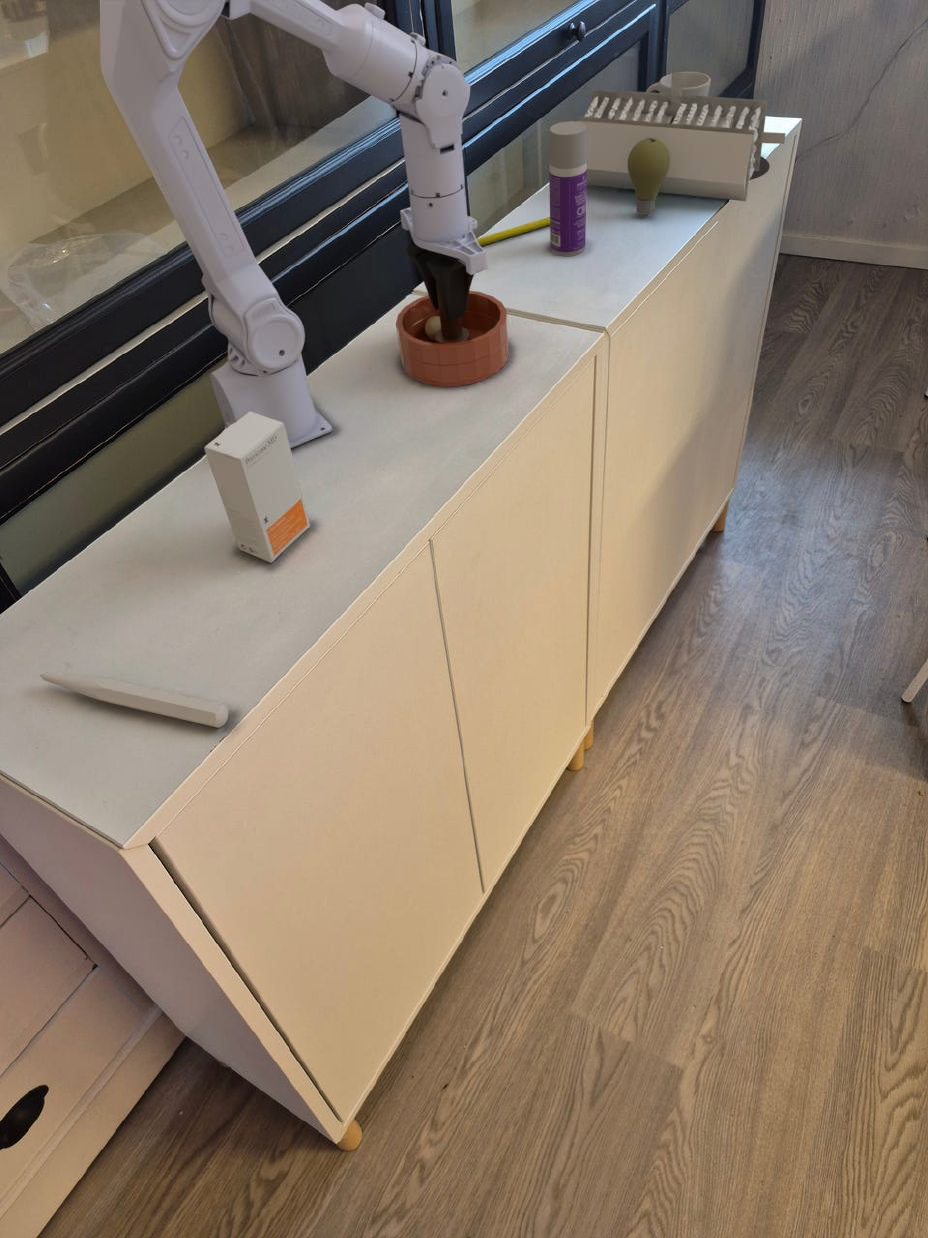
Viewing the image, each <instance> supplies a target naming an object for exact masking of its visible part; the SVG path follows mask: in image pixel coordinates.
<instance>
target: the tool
mask: <svg viewBox="0 0 928 1238" xmlns="http://www.w3.org/2000/svg"><path fill="white" fill-rule="evenodd" d="M39 677H41V679H42V680H43V681H45V682H48V683H51V684H54V685H56V686H59V687H62V688H65V689H67V690H69V691H73V692H76V693H78V694H80V695H84V696H87V697H89V698H92V699H95V700H97V701H98V700H99V701H102V702H106V703H110V704H113V705H118V706H121V707H127V708H130V709H136V710H139V711H144V712H148V713H153V714H156V715H160V716H165V717H169V718H174V719H177V720H182V721H188V722H191V723H195V724H199V725H204V726H207V727H212V728H217V729H220V728H222V727H223V726H224V725H225V724H226V723H227V721H228V718H229V709H228V707H227V705H224V704H222V703H219V702H214V701H210V700H205V699H200V698H196V697H191V696H187V695H183V694H178V693H174V692H169V691H166V690H160V689H156V688H153V687H147V686H143V685H140V684H139V685H138V684H133V683H129V682H125V681H120V680H116V679H111V678H107V677H96V676H87V675H78V674H77V675H76V674H67V673H57V672H48V671H47V672H46V671H45V672H43V673H41V674H39Z"/></svg>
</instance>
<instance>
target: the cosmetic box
mask: <svg viewBox="0 0 928 1238" xmlns="http://www.w3.org/2000/svg"><path fill="white" fill-rule="evenodd" d="M203 449H204V452H205V455H206V459H207V461H208V464H209V467H210V469H211V470H210V471H211V472H212V476H213V479H214V481H215V484H216V487H217V490H218V493H219V496H220V498H221V501H222V505H223V507H224V510H225V513H226V516H227V518H228V522H229V524H230V525H229V526H230V527H231V530H232V534H233V535H234V536H233V537H234V539H235V542H236V545H237V548H238V549H239V550H240V551H241V552H243V553H246V554H249V555H251V556H253V557H256V558H258V559H261V560H263V561H264V562H268V563H271V564H272V563H273V562H274V561H275V560H276V559H277V558H278V557H279V556H280V555H281V554H282V553H283V552H285V551H286V549H288V548H289V546H291V545H292V544H293V543H294V542H295V541H296V540H297V539H298V538H299V537H300V536H302V535H303V534H304V533H305V532H306V531H307V530H308V529H309V528H310V527H311V523H310V520H309V515H308V512H307V511H308V510H307V507H306V504H305V500H304V496H303V491H302V487H301V485H300V481H299V477H298V473H297V468H296V465H295V462H294V458H293V454H292V450H291V449H292V448H290V445H289V442H288V438H287V434H286V430H285V426H284V423H283V422H279V421H277V420H274V419H270V418H267V417H265V416H262V415H259V414H256V413H253V412H248V413H247V414H246V415H244V416H243V417H242V418H241V419H239V420H238V421H237V422H235V423H233V424H231V425H230V426H229V427H228V428H226V429H225V428H224V430H222V432H221V433H220V434H219V435H217V436H216V437H215V438H214V439H212V440H211V441H210V442H208V444H206V445H205V446H204V447H203Z"/></svg>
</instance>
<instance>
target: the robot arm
mask: <svg viewBox="0 0 928 1238" xmlns="http://www.w3.org/2000/svg"><path fill="white" fill-rule="evenodd" d="M248 14H251V15H254V16H255V17H257V18H258V19H260V20H263V21H265V22H267V23H269V24H271V25H273V26H275V27H277V28H279V29H282V30H283V31H285V32H287V33H288V34H290V35H293V36H294V37H297V38H299V39H300V40H302V41H305V42H307V43H308V44H310V45H312V46H314V47H316V48H318V49H320V50H321V52H322V55H323V58H324V61H325V64H326V66H327V68H328V71H329V72H330V74H331V75H333V76H334V77H336V78H338V79H340V80H341V81H344V82H346V83H348V84H349V85H351V86H353V87H355V88H358V89H359V90H360V91H363V92H364V93H367V94H368V95H370V96H371V97H374V98H376V99H377V100H380V101H382V102H383V103H385V104H387V105H389V107H390V108H391V109H392V110H393V111H399V112H400V113H399V115H398V116H399V121H400V122H399V123H400V131H401V138H402V148H403V155H404V156H403V157H404V164H405V171H406V180H407V187H408V188H407V189H408V195H409V207H406V208H403V209H400V210H399V214H400V221H401V228H402V229H404V230H405V231H409V233H410V236H411V239H412V242H413V243H412V244H410V245H408V246H407V247H406V253H407V255H408V256H409V258H410V259H411V260H412V262H413V263H414V264H415V266H416V268H417V270H418V272H419V274H420V276H421V278H422V281H423V283H424V287H425V289H426V292H427V295H429V297H430V300H431V303H432V305H433V307H434V308H435V309H436V310H438V309H439V307H438V298H437V289H436V282H437V285H438V288H439V291H440V295H441V299H442V304H443V308H444V312H445V315H446V317H447V318H448V319H449V320H453V319H456V318H458V317H461V316H463V315H465V312H466V307H467V301H468V295H469V291H471V286H472V284H473V283H472V282H473V279H474V278H475V277H474V276H475V274H479V273H481V272H483V271H486V270H488V257H487V250H486V249H484V248H483V246H480V245H479V243H478V241H477V239H478V238H477V237H476V235H475V233H474V231H473V230H476V229H477V228H478V221H477V220H476V219H475V218H473V217H471V216H469V215H468V208H467V207H468V205H467V195H466V193H467V192H466V181H465V167H464V155H463V145H462V135H463V117H464V114H465V112H466V110H467V107H468V104H469V101H470V97H471V84H470V83H468V82H467V81H466V79H465V75H464V72H463V71H461V66H460V64H459V63H458V62H457V61H456V60H454V59H453V58H451V57H450V56H447V55H445V54H442V53H439V52H436V51H434V50H432V49H429V48H427V47H426V46H425V44H426V38H425V37H424V36H422V35H421V34H419V33H417V32H413V31H412V32H410V34H408V33H406V32H404V31H402V29H399V28H397V27H396V26H394V25H393V24H391V23H389V22H388V21H387V20H385V19H384V18H385V15H386V12H385V10H384V9H382V8H381V7H379V6H377V5H375V4H373V3H371V2H366V3H365V4H364V7H363V6H362V5H361V4H358V3H351V4H348V5H346V6H344V7H342V8H340V9H337V10H336V9H333V8H332V7H331V6H329V5H328V4H326V3H324V2H323V1H322V0H99V41H100V42H99V43H100V44H99V45H100V47H99V49H100V72H101V74H102V77H103V80H104V83H105V85H106V87H107V89H108V91H109V93H110V95H111V97H112V99H113V101H114V103H115V104H116V106H117V109H118V110H119V112H120V115H121V117H122V118H123V120H124V122H125V124H126V126H127V128H128V130H129V132H130V134H131V136H132V137H133V140H134V142H135V143H136V145H137V147H138V149H139V151H140V154H141V155H142V158H143V159H144V161H145V163H146V165H147V167H148V169H149V171H150V173H151V174H152V177H153V179H154V181H155V182H156V184H157V186H158V189H159V190H160V192H161V195H162V196H163V198H164V200H165V202H166V204H167V205H168V206H167V207H168V208H169V209H170V211H171V213H172V215H173V217H174V219H175V221H176V223H177V225H178V227H179V229H180V231H181V233H182V235H183V237H184V239H185V241H186V243H187V245H188V247H189V249H190V251H191V253H192V254H193V256H194V258H195V260H196V263H197V264H198V266H199V269H200V270H201V272H202V278H201V283H202V286H203V288H204V289H205V291H206V294H207V298H208V315H209V319H210V321H211V323H212V325H213V326H214V328H215V329H216V330H217V331H218V332H219V333H220V334H222V335H224V336H225V337H226V338H227V341H228V344H227V361H226V362H225V363H224V364H223V365H222V366H220V367H219V368H217V369H215V370H214V371H212V372H210V374H209V378H210V383H211V387H212V390H213V393H214V396H215V399H216V402H217V405H218V408H219V411H220V414H221V417H222V420H223V423H224V430H225V429H226V428H228V427H229V426H230V425H231V424H233V423H235V422H237V421H238V420H239V419H241V418H242V417H243V416H244V415H246V414H247V413H248V412H253V413H256V414H259V415H262V416H265V417H267V418H270V419H274V420H277V421H279V422H283V423H284V426H285V430H286V434H287V438H288V442H289V445H290V449H292V448H295V447H298V446H300V445H303V444H304V443H307V442H309V441H311V440H315V439H316V438H319V437H322V436H323V435H327V434H329V433H330V432H332V431H333V428H332V425H331V424H330V423H329V422H328V421H327V420H326V419H325V418H324V417H323V416H322V415H321V414H320V412H319V411H318V410H317V409H316V408H315V405H314V401H313V397H312V392H311V388H310V384H309V380H308V376H307V372H306V367H305V364H304V360H303V355H302V352H303V348H304V344H305V338H306V334H305V327H304V325H303V323H302V320H301V319H300V317H299V316H298V315H297V314H296V313H295V312H293V311H292V310H291V309H290V308H288V307H287V306H286V305H285V304H284V303H283V301H282V299H281V297H280V295H279V292H278V290H277V289H276V287H275V286H274V284H273V283H272V282H271V280H270V279H269V278H268V276H267V274H265V272H264V271H263V269H262V267H261V265H259V263H258V261H257V259H256V257H255V255H254V252H253V251H252V248H251V246H250V244H249V242H248V239H247V238H246V235H245V232H244V230H243V228H242V226H241V224H240V222H239V220H238V217H237V215H236V214H235V211H234V209H233V207H232V204H231V202H230V200H229V198H228V196H227V193H226V191H225V189H224V187H223V185H222V183H221V180H220V178H219V175H218V173H217V172H216V169H215V167H214V165H213V162H212V160H211V158H210V155H209V154H208V152H207V150H206V147H205V145H204V143H203V141H202V139H201V136H200V134H199V132H198V130H197V128H196V126H195V123H194V121H193V119H192V117H191V115H190V112H189V110H188V108H187V106H186V104H185V102H184V99H183V97H182V94H181V92H180V90H179V87H178V84H179V82H180V79H181V75H182V74H183V70H184V68H185V65H186V62H187V61H188V57H190V55H191V54H192V52H193V51H194V50H195V49H196V48H197V46H198V45H199V43H201V41H202V40H203V39H204V38H205V36H206V35H207V34H208V32H209V31H210V30H211V29H212V28H213V27H214V25H215V24H216V22H217V20H218V19H219V17H220V16H221V17H222V18H225V19H227V20H230V21H233V20H234V21H235V20H237V19H239V18H241V17H244V16H245V15H248Z"/></svg>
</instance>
